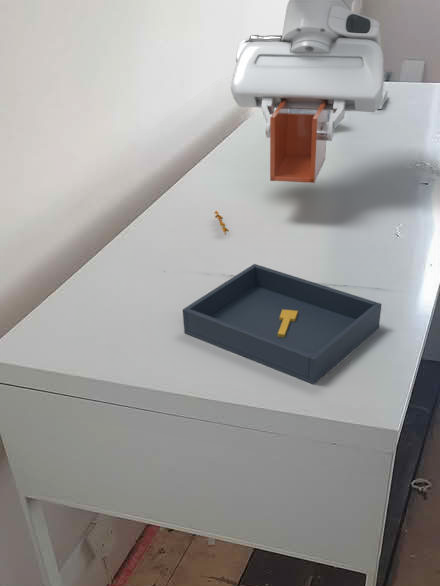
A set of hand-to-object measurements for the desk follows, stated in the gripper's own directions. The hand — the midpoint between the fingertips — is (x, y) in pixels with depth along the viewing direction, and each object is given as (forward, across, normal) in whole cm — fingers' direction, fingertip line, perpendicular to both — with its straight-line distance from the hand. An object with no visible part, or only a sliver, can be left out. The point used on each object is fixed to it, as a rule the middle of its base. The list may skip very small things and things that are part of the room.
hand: (298, 137), depth 95 cm
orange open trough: (+3, 0, +4) cm, 4 cm away
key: (+28, +5, -14) cm, 32 cm away
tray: (+29, +4, -14) cm, 33 cm away
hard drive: (-32, 0, +48) cm, 58 cm away
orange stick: (+11, -10, +4) cm, 16 cm away
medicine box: (-19, -6, +35) cm, 40 cm away
